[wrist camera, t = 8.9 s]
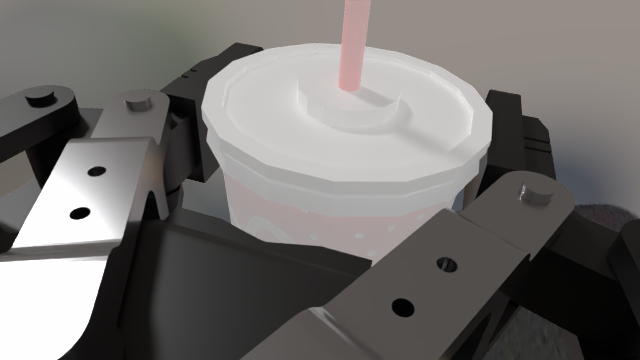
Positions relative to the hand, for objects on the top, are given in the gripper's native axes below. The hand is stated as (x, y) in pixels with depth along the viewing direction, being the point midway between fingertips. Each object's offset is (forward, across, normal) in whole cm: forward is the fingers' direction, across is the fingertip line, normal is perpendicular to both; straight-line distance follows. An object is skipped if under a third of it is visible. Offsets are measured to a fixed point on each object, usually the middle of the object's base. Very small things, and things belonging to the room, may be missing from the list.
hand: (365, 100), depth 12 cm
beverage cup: (-2, 0, +8) cm, 8 cm away
